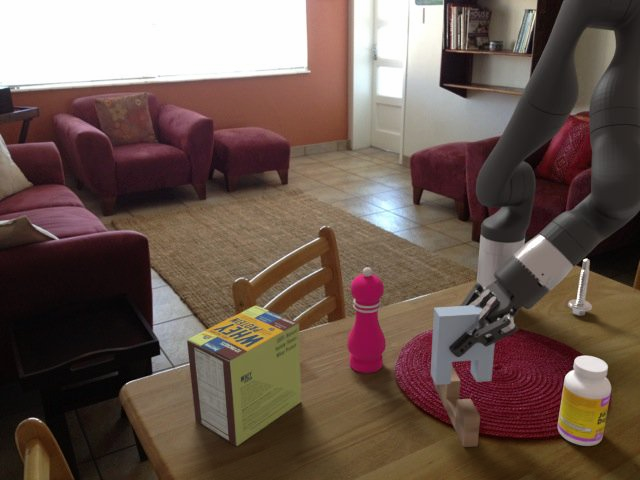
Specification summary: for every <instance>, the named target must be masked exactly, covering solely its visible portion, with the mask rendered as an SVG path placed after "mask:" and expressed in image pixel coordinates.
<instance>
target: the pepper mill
mask: <svg viewBox="0 0 640 480" xmlns="http://www.w3.org/2000/svg"><path fill="white" fill-rule="evenodd" d="M384 286H385V285H384V283H383V281H382V279H381V278H380V277H379V276H377V275H375V274H373V270H372V268H371V267H364V268H363V270H362V274H359V275H357V276H356V277H355V278H354V279H352V282H351V283H350V293H351V296H352V297H353V298H354V299H353V301H352V303H353V306H352V307H353V309H354V310H355V320H354V324H353V327H352V329H351V330H350V331H349V334H348V337H347V340H346V341H347V342H346V346H347V350H348V352H349V353H350V354H349V366H350V368H351V369H353V370H354V371H355V372H358V373H363V374H372V373H375V372H377V371H380V370H381V368H382V367H383V365H384V364H383V362H384V360H383V354H384V352H385V350H386V347H387V345H386V338H385V335H384V332H383V330H382V328H381V326H380V323H379V311H380V309H381V307H382V306H381V303H382V301H381V298H382V297H383V295H384V293H385V288H384Z"/></svg>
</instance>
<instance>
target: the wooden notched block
mask: <svg viewBox="0 0 640 480" xmlns="http://www.w3.org/2000/svg"><path fill="white" fill-rule="evenodd" d="M433 386H434V388H435V390H436V393H437V395H438V396H439V398H440V401H441V403H442V405H443V407H444V409H445V411H447V412H446V413H447V415H448V418H449V419H450V422H451V424H452V426H453V428H454V430H455V433H456V435H457V436H458V439H459V441H460V442H461V445H462V447H463V448H471V447H478V444H479V433H480V423H481V415H480V413H479V412H478V409H477V408H476V406H475V404H474V403H473V400H472V399H471V398H462V399H461V398H460V394H461V393H460V392H461V379H460V377H459V376H458V374H457V372H456V370H455V368H454V366H453V365H452V370H451V384H442V385H435V383H434V382H433Z"/></svg>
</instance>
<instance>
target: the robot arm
mask: <svg viewBox="0 0 640 480" xmlns="http://www.w3.org/2000/svg"><path fill="white" fill-rule="evenodd" d="M587 28H588V29H597V30H605V31H613V33H614V37H615V50H614V53H613V56H612V59H611V61H610V62H609V64H608V66H607V68H606V70H605V72H603V74H602V76H601V78H600V79H599V80H598V82H597V84H596V86H595V88H594V90H593V91H592V94H591V97H590V102H589V111H588V112H589V113H588V115H589V117H588V119H589V121H588V122H589V139H590V140H589V141H590V148H591V151H592V152H591V153H592V154H591V171H590V172H591V174H590V175H591V177H590V186H591V187H590V188H591V191H590V193H589V194H588V195H587V196H586V197H585V198H584V199H583V200H581V201H580V202H579V203H578V204H577V205H576V206H574V208H573V209H571V210H566V211H564V212H562V213H560V214H559V215H558V216H557V217H556V216H555V218H554V219H553V220H552V221H551V222H549V223H548V224H547V225H546V226H545V227H544V228H543V229H542V230H541V231H540V232H538V234H536V235H535V236H534V237H533V238H531V239H530V240H528V241H527V242H526V243H525V241H526V232H527V230H528V228H529V226H530V223H531V217H532V212H533V206H534V200H535V194H536V185H537V184H536V176H535V172H534V169H533V168H532V166H531V165H530V163H528V162H526V161H525V159H527V158H529V157H530V156H531V155H532V154H533V153H535V152H536V151H537V150H539V149H540V148H541V147H542V146H544V145H545V144H547V143H548V142H549V141H550V140H551V139H553V138H554V137H555V136H556V135H557V134H558V133H559V132H560V131H561V129H562V128H563V127H564V125H565V123H566V122H567V120H568V118H569V116H570V115H571V113H572V111H573V110H574V108H575V106H576V104H577V102H578V99H579V79H578V74H577V70H576V63H575V53H576V49H577V46H578V43H579V41H580V39H581V36H582V35H583V33H584V32H585V30H586V29H587ZM526 83H527V84H526V85H525V87H524V89H523V91H522V93H521V95H520V98H519V99H518V101H517V103H516V106H515V108H514V111H513V113H512V115H511V117H510V119H509V121H508V123H507V125H506V126H505V129H504V130H503V132H502V134H501V135H500V138H499V140H498V141H497V143H496V144H495V146H494V148H493V149H492V150H491V152H490V154H489V155H488V157H487V159H485V161H484V163H483V164H482V167H481V168H480V170H479V173H478V176H477V178H476V182H475V183H476V184H475V194H476V198H477V200H478V202H479V203H480V204H481V205H482V206H485V207H488V208H500V209H498V210H497V211H496V212H495V213H493V214H491V215H490V216H489V217H486V218H485V219H484V220H483V221H482V223H481V227H480V236H479V237H480V238H479V249H478V250H479V251H478V252H479V253H478V261H477V263H478V264H477V276H476V283H475V284H474V285H473V287H472V288H471V290H470V291H469V292H468V294H467V295H466V297H465V298H464V299H463V301H462V303H461V304H460V305H459V306H470V305H474V306H480V307H481V309H482V311H481V312H480V314H479V315H478V316H477V317H476V322H475V323H474V324H473V325H472V326H471V327H470V328H469V329H468V331H467V333H466V332H465V333H464V334H463V335H462V336H461V337H459V338H458V339H457V340H456V341H455V342H454V343H453V344H452V345H451V346H450V347H449V349H450V351H451V352H452V353H453V354H454V355H455V356H456V357H460V356H462V355H463V354H465V353H466V352H467V351H468V350H469V349H470V348H471V347H472V346H473V345H474V344H476V343H481V344H483V345H484V346H485V347H486V346H489V345H491V344H493V343H495V344H496V343H497V342H499V341H501V340H502V339H503V340H504V339H505V338H507V337H509V336H510V335H513V334H515V333H517V332H518V329H519V327H518V326H517V325H516V323H514V322H515V321H514V318H515V317H516V316H517V315H518V313H519V311H520V310H521V309H522V308H524V309H526V310H530V309H531V308H533V307H534V306H535V305H536V304H537V303H538V302H539V301H540V300H542V299H543V298H544V297H545V296H546V295H547V294H548V293H549V292H550V291H552V290H553V289H554V288H555V287H556V286H557V285H558V284H560V283H561V282H562V281H563V280H564V279H565V277H566V276H568V274H569V273H570V272H571V270H572V269H574V267H576V266H577V265H578V264H580V262H581V261H583V260H584V259H585V258H586V257H587V256H588V255H589V254H590V253H591V252H592V251H593V250H594V249H595V248H596V247H597V246H598V245H599V244H600V243H601V242H603V241H604V240H606V239H608V238H609V237H610V236H611V235H613V234H614V233H616V232H617V231H619V230H620V229H621V228H623V227H624V226H625V225H626V224H627V223H629V222H630V221H631V220H632V219H633V218H634V217H635V216H636V215H638V213H639V212H640V0H563V1H562V4H561V6H560V9H559V12H558V14H557V16H556V19H555V22H554V25H553V27H552V30H551V33H550V35H549V37H548V40H547V43H546V45H545V47H544V49H543V51H542V53H541V56H540V58H539V59H538V62H537V64H536V66H535V68H534V70H533V72H532V74H531V76H530V78H529V80H528V82H526ZM485 319H486V320H487V321H488V322H489V323H490V325H488V324H487V323H486V322H485ZM481 326H483V327H484V328H482V329H480V330H478V329H479V328H480V327H481ZM477 330H478V331H477ZM489 334H491V335H492V336H490V337H488V338H487V336H488V335H489Z"/></svg>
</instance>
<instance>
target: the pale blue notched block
mask: <svg viewBox="0 0 640 480" xmlns="http://www.w3.org/2000/svg"><path fill="white" fill-rule="evenodd" d="M469 305H470V304H469ZM481 311H482V309H481V307H480V306H474V305H470V306H460V305H456V306H441V307H440V306H439V307H438V306H437V307H434V308H433V319H432V320H433V322H432V341H431V342H432V343H431V360H430V376H431V379H432V380H433V384H434V383H435V385H442V384H451V370H452V366H453V363H454V362H467V361H470V374H471V375H472V377H473V379H474V380H475V382H476V383H481V382H492V378H493V368H494V355H495V346H496V345H495V344H496V342H495V343H493V344H491V345H489V346H486V347H485V346H484V345H483V344H481V343H476V344H474V345H473V346H472V347H471V348H470V349H469V350H468V351H467V352H466V353H465V354H463V355H462V356H460V357H456V356H455V355H454V354H453V353H452V352H451V351H450V349H449V347H450V346H451V345H452V344H453V343H454V342H455V341H456V340H457V339H458V338H459V337H461V336H462V335H463V334H464V333H465V332H466V333H467V331H468V329H469V328H470V327H471V326H472V325H473V324H474V323H475V322H476V317H477V316H478V315H479V314H480V312H481ZM485 322H486V323H487V324H488V325H490V323H489V322H488V321H487V320H486V319H485ZM482 328H484V327H483V326H481V327H480V328H479V329H478V330H480V329H482ZM478 330H477V331H478ZM490 336H492V335H491V334H489V335H488V336H487V338H488V337H490Z"/></svg>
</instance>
